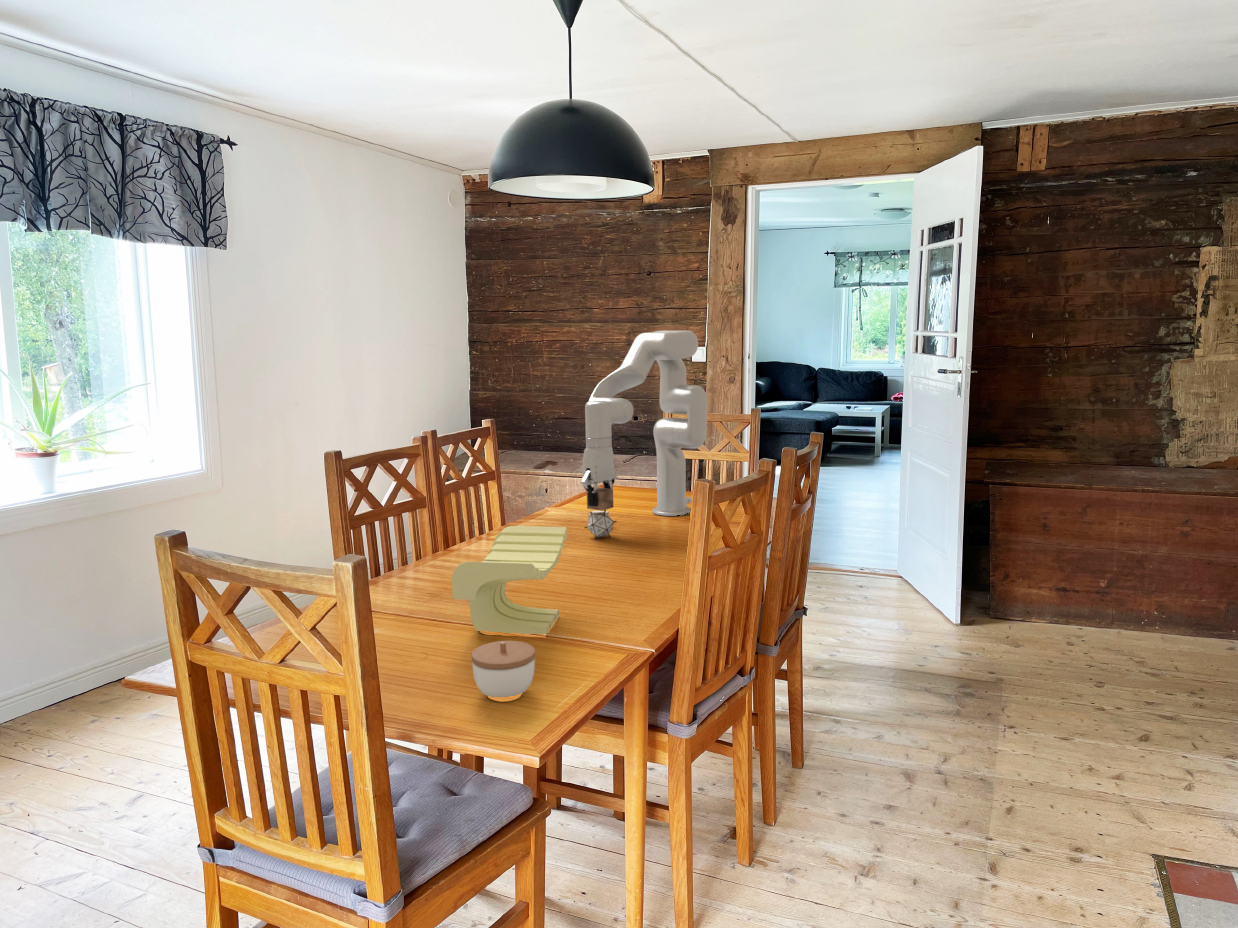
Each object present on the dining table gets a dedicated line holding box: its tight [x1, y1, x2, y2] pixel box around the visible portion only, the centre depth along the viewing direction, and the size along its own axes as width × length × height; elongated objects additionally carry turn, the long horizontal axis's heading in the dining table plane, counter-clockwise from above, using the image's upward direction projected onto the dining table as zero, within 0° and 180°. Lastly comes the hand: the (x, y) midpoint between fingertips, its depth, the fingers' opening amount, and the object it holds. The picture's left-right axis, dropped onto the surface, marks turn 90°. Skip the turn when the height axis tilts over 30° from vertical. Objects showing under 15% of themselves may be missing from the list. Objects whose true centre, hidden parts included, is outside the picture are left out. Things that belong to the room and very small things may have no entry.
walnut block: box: [586, 486, 614, 511], centre depth 253 cm, size 6×6×6 cm
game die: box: [584, 509, 618, 540], centre depth 255 cm, size 9×8×10 cm
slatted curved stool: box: [451, 525, 568, 634], centre depth 180 cm, size 30×16×18 cm, turn 171°
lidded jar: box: [470, 640, 536, 697], centre depth 146 cm, size 11×11×9 cm
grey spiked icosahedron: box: [587, 510, 610, 522], centre depth 267 cm, size 5×5×5 cm
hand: (600, 503), depth 254 cm, fingers open, 5 cm apart
